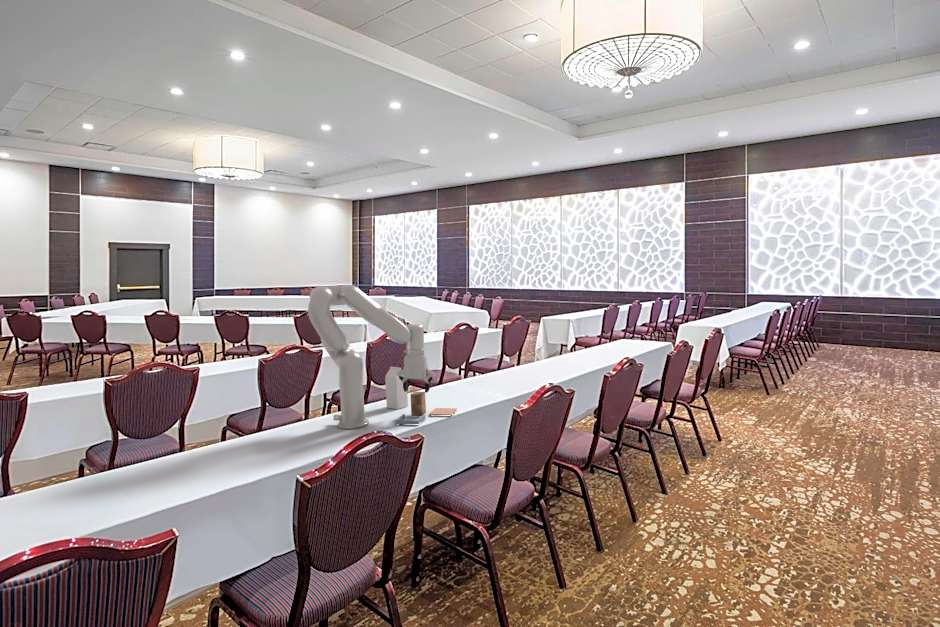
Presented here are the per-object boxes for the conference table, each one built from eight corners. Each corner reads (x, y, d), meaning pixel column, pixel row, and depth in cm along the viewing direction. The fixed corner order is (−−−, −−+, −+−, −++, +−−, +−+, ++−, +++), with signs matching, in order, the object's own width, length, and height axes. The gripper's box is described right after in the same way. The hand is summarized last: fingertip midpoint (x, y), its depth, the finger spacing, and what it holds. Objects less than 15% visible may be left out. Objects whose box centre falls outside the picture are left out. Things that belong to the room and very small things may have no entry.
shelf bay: (395, 424, 224) (395, 420, 223) (403, 418, 232) (403, 414, 232) (418, 425, 221) (418, 420, 221) (425, 419, 230) (425, 414, 230)
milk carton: (397, 409, 248) (395, 369, 247) (386, 407, 252) (384, 367, 251) (408, 406, 254) (406, 366, 252) (397, 404, 258) (395, 365, 257)
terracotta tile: (429, 416, 235) (428, 413, 235) (435, 410, 245) (435, 408, 244) (451, 416, 233) (451, 414, 232) (456, 410, 242) (456, 408, 242)
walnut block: (411, 416, 235) (410, 394, 234) (415, 413, 240) (414, 391, 239) (422, 417, 234) (421, 394, 233) (426, 414, 239) (424, 391, 238)
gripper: (393, 353, 233) (394, 392, 234) (431, 354, 229) (432, 394, 230) (399, 351, 240) (400, 389, 242) (437, 351, 236) (437, 390, 238)
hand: (416, 391), depth 236 cm, fingers open, 9 cm apart
